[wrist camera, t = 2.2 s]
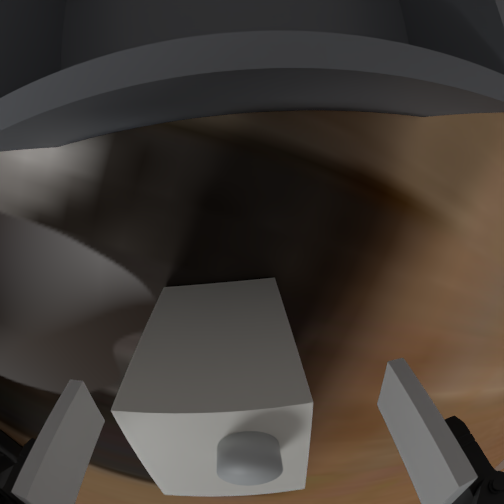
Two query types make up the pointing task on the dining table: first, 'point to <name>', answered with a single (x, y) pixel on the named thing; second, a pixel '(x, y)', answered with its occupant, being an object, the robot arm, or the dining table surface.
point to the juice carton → (218, 393)
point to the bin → (238, 61)
